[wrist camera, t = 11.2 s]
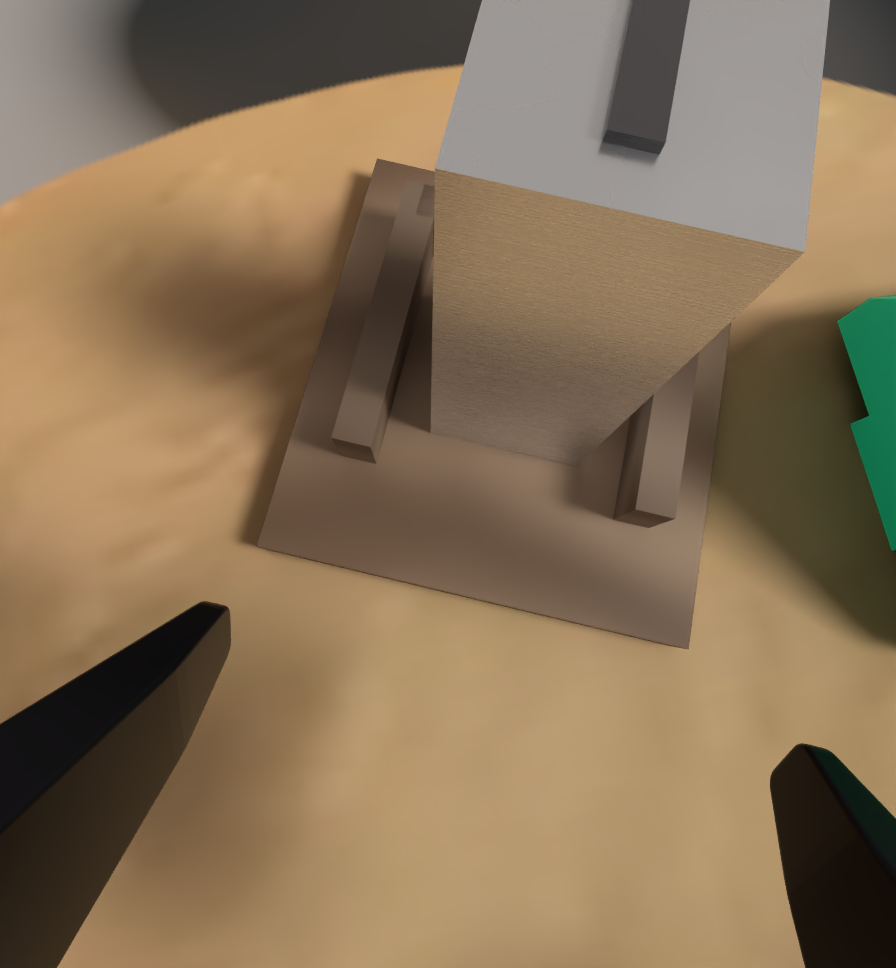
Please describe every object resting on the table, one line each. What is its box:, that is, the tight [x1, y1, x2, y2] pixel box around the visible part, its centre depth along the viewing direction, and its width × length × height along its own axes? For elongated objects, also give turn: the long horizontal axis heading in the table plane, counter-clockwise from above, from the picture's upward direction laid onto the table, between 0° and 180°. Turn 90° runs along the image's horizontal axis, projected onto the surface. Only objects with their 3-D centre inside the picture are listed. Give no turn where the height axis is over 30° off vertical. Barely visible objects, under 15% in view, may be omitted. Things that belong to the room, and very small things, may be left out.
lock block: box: [431, 0, 830, 467], centre depth 13 cm, size 5×5×12 cm
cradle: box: [257, 159, 731, 649], centre depth 19 cm, size 15×14×3 cm
